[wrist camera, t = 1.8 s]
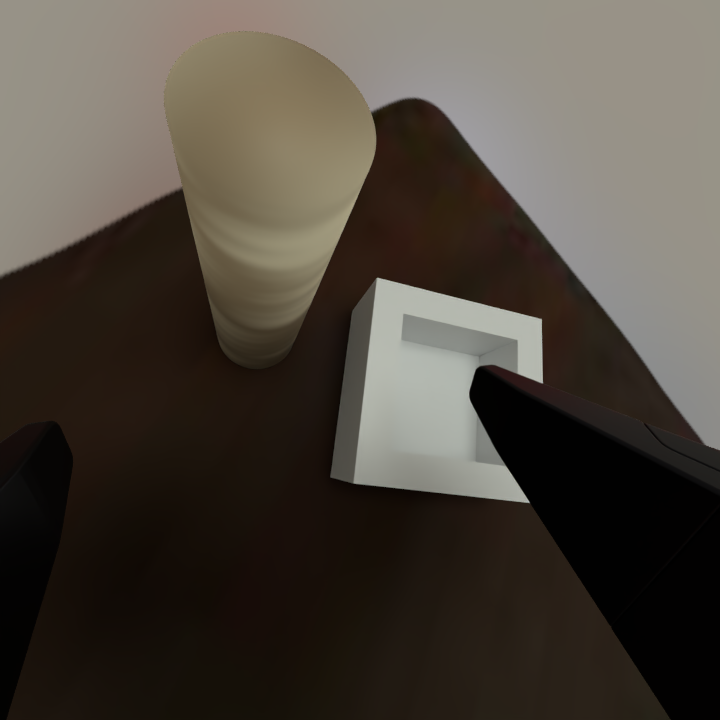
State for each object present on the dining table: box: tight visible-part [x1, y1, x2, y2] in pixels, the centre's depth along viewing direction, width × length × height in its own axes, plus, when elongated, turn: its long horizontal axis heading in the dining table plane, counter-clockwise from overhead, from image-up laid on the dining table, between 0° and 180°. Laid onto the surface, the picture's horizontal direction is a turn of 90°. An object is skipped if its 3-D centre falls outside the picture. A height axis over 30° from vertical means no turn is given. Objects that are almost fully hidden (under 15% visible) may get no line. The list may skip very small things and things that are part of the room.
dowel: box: [164, 31, 376, 369], centre depth 14 cm, size 4×4×14 cm
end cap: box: [330, 278, 543, 503], centre depth 20 cm, size 9×9×4 cm
